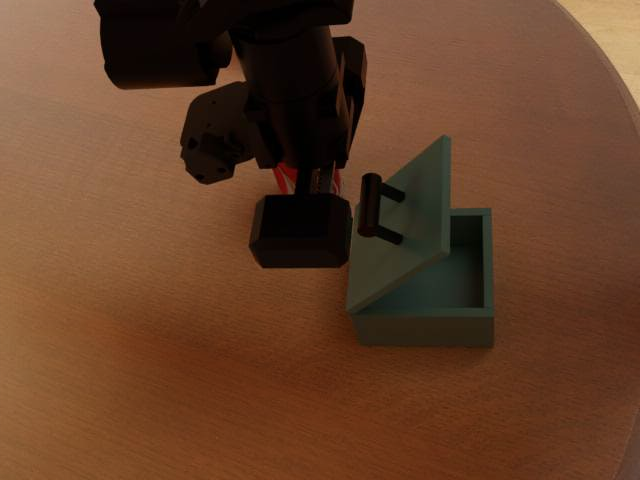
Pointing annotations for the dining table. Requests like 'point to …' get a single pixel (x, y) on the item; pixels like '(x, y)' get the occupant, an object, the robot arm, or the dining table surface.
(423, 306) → the teal box
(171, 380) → the dining table surface
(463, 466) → the dining table surface
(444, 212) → the box lid
